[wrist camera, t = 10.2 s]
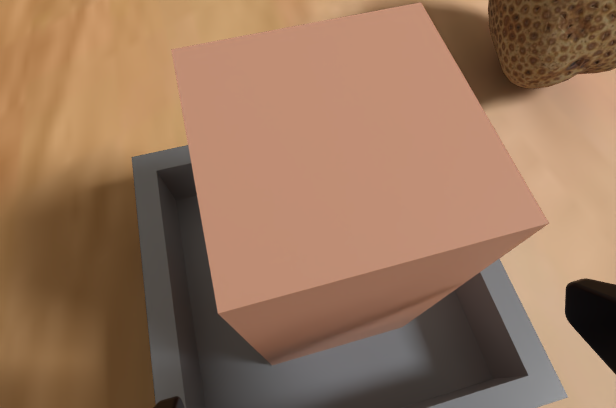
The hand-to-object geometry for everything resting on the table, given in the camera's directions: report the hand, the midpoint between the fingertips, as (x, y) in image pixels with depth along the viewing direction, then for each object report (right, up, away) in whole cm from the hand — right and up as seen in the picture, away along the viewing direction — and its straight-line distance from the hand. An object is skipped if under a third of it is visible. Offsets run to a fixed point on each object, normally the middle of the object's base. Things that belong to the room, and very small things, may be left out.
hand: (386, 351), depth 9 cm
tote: (-1, -1, +11) cm, 11 cm away
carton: (-1, 0, +10) cm, 10 cm away
